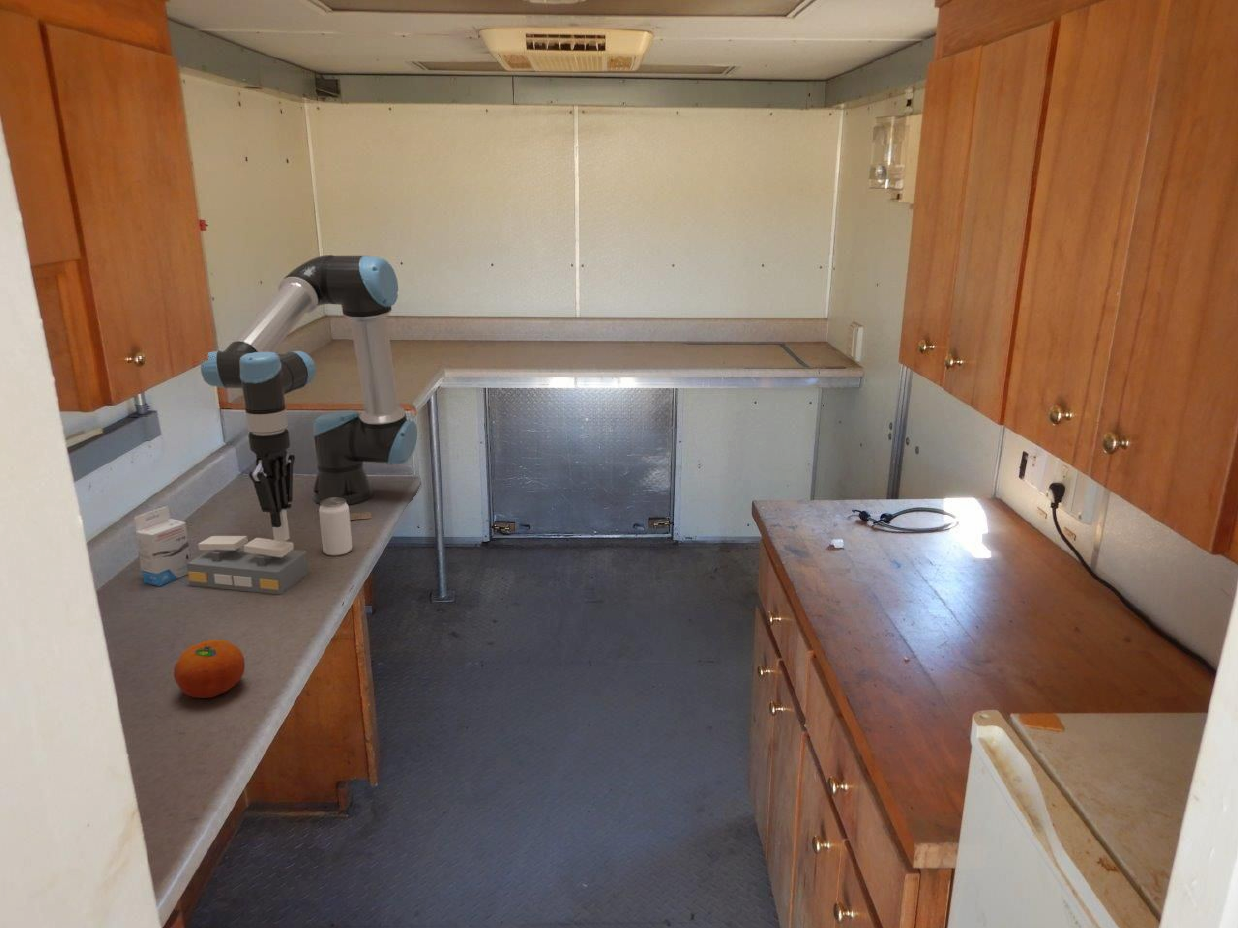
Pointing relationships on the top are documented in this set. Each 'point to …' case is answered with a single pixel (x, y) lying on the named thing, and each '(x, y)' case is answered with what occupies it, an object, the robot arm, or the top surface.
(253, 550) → the rocker
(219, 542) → the rocker
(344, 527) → the can
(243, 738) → the top surface
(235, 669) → the fruit
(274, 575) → the switch unit
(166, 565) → the ink box
